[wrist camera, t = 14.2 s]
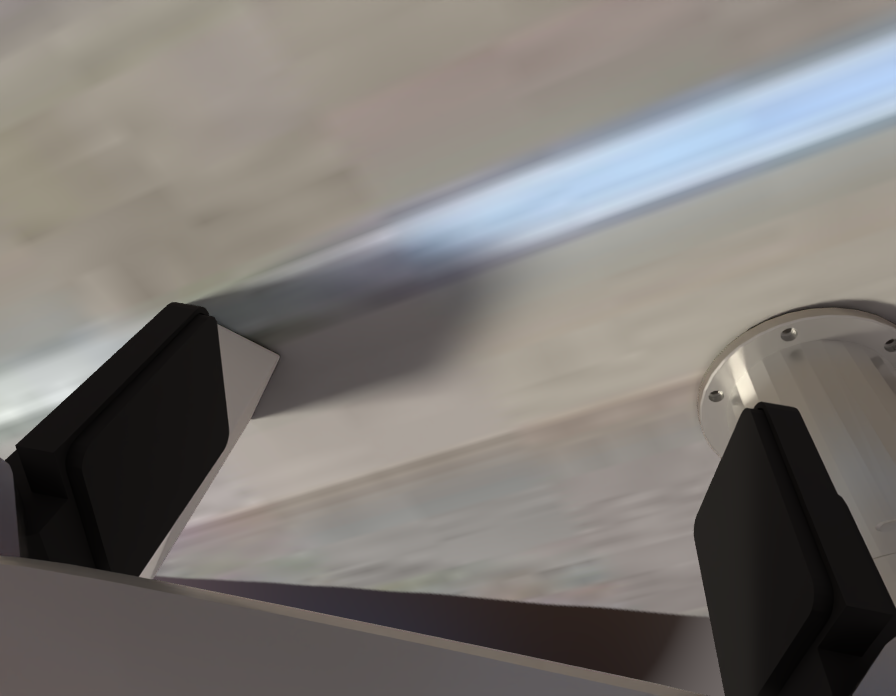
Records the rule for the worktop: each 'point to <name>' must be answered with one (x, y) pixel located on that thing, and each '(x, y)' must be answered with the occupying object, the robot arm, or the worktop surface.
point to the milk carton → (243, 389)
